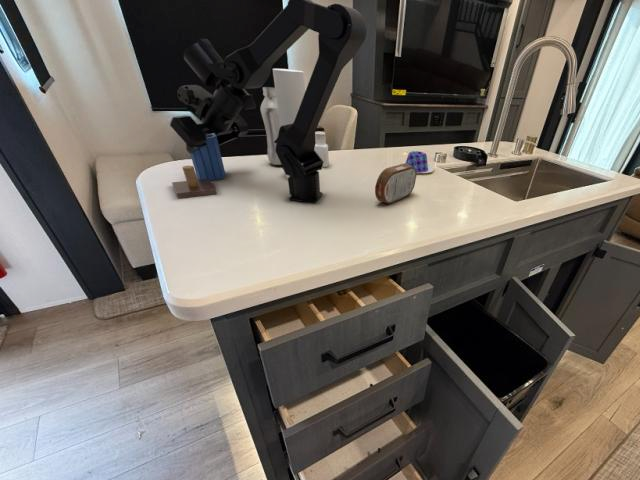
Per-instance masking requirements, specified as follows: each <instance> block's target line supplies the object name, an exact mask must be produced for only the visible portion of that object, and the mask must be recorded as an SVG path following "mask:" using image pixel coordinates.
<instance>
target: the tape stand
mask: <svg viewBox="0 0 640 480" xmlns="http://www.w3.org/2000/svg"><path fill="white" fill-rule="evenodd" d="M182 171H183V174H184V178H185V180H183V181H172V182H171V184H172V188H173V190H174V192H175V194H176V197H177V199H185V198H194V197H202V196H211V195H217V190H216V188H215V186H214V185H213V183H212V182H211V180H209V179H203V180H202V179H198V178H197V175H196V172H195V168H194V165H183V166H182Z"/></svg>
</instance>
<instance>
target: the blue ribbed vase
mask: <svg viewBox="0 0 640 480" xmlns="http://www.w3.org/2000/svg"><path fill="white" fill-rule="evenodd" d="M206 139H207V140H206V142H205V143H206V144H207V145H206V146H204V147H202V148H200V149H198V150H196V151H195V152H193V153H189V154H190V158H191V161H192V166H193V167H194V171H195V174H196V178H197V179H198V180H203V179H209V180H210V181H219V180H222V179H224V178H226V177H227V176H226V170H225V166H224V161H223V157H222V154H221V148H220V145H219V144H218V140H217V136H216V134H211V135H206Z"/></svg>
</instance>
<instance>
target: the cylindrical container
mask: <svg viewBox="0 0 640 480" xmlns="http://www.w3.org/2000/svg"><path fill="white" fill-rule="evenodd" d="M272 77H273V83H274V88H275V92H276V100H277V109H278V117H279V125H280V127H281V126H284V125H288V124H293V122H294V120H295V118H296V115H297V112H298V110H299V107H300V104H301V102H302V99H303V96H304V94H305V91H306V83H305V82H306V81H305V71H303V70H299V69H298V70H297V69H289V68H272ZM301 164H302V165H303V163H301ZM289 177H290V175H286V174H285V178H286V179H288V178H289Z"/></svg>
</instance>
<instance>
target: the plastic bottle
mask: <svg viewBox="0 0 640 480" xmlns="http://www.w3.org/2000/svg"><path fill="white" fill-rule="evenodd" d="M262 92H263V93H262V95H263V96H264V98H263V100H262V102H261V104H260V108H259V110H260V114H261V119H262V120H263V124H264V129H265V134H266V144H267V145H266V146H267V149H266V150H267V151H266V156H267V158H268V161H269V163H270V164H271V165H275V166H282V164H281V162H280V160H279V158H278V155H277V153H276V145H277V143H275V142H274V141H275V140H276V139H277V137H278V134H279V129H280V125H279V117H278V109H277V100H276V92H275V87H273V86H272V87H271V86H262Z"/></svg>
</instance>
